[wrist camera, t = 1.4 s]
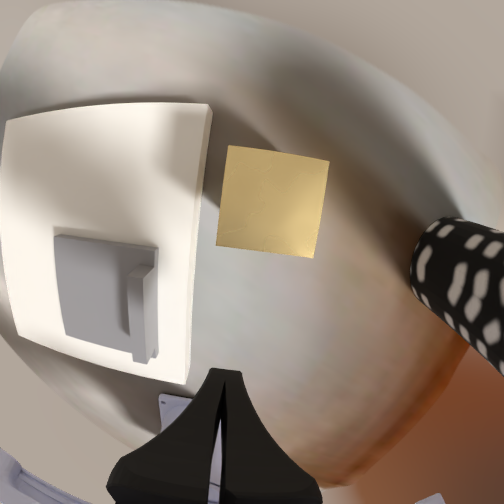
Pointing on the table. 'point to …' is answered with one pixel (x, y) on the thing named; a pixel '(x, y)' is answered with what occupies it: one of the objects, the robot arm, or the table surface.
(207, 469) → the robot arm
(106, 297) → the panel
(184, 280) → the socket base
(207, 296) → the table surface
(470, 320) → the white-spotted black cylinder
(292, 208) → the peg
